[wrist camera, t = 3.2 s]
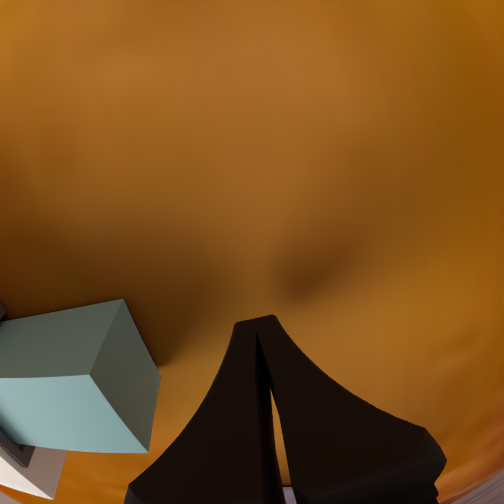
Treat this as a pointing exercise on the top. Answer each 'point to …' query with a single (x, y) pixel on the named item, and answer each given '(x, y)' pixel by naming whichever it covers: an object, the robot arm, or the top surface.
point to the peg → (77, 381)
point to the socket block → (30, 464)
